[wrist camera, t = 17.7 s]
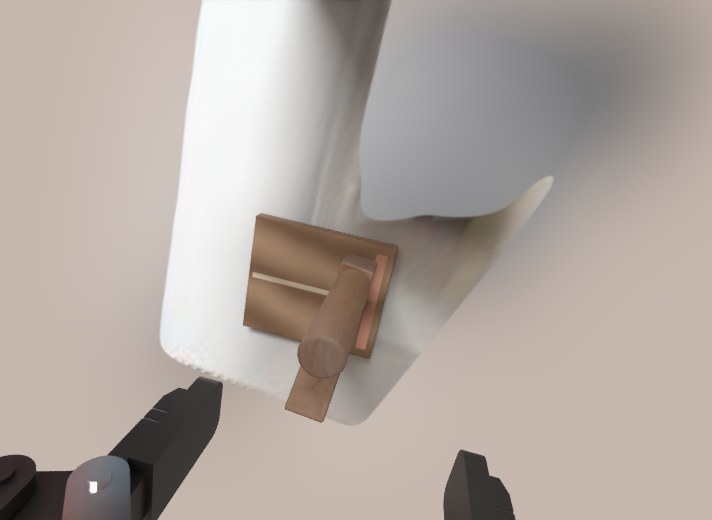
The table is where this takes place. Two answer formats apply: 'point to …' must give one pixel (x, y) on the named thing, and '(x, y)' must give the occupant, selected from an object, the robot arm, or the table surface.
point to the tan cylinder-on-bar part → (330, 338)
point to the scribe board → (309, 278)
